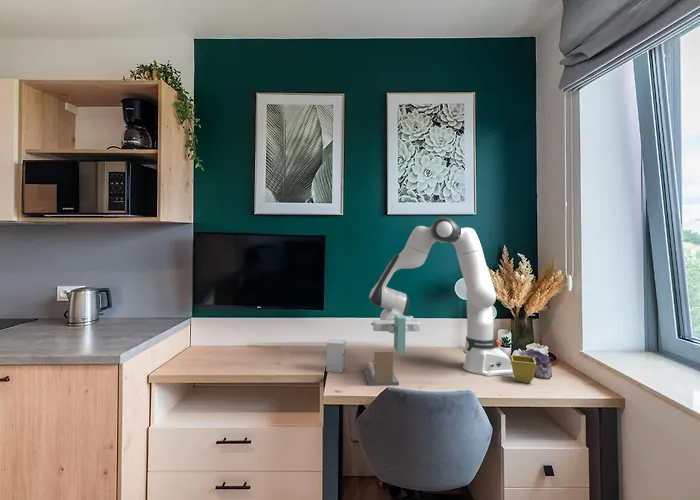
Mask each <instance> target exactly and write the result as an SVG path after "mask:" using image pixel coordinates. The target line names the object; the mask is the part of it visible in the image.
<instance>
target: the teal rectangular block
mask: <svg viewBox="0 0 700 500" xmlns="http://www.w3.org/2000/svg"><path fill="white" fill-rule="evenodd" d="M394 327H396V332H394V333H393V349H394V350H395V351H396V353H397V354H405V353H406V332H405V331H406V318H405V317H404V316H403V315H395V320H394Z"/></svg>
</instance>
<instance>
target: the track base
mask: <svg viewBox="0 0 700 500" xmlns="http://www.w3.org/2000/svg"><path fill="white" fill-rule="evenodd" d="M393 351H394V350H374V365H373V363H372V362H371V361H369V362H368V367H363V373H364V376H365V379H366V382H367V385H368V386H370V387H372V386H373V387H374V386H376V387H377V386H378V387H379V386H380V387H381V386H399V385H400V382H399V380H398V378H397V376H396V374H395V373H394V370H393V369H394V352H393Z"/></svg>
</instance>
